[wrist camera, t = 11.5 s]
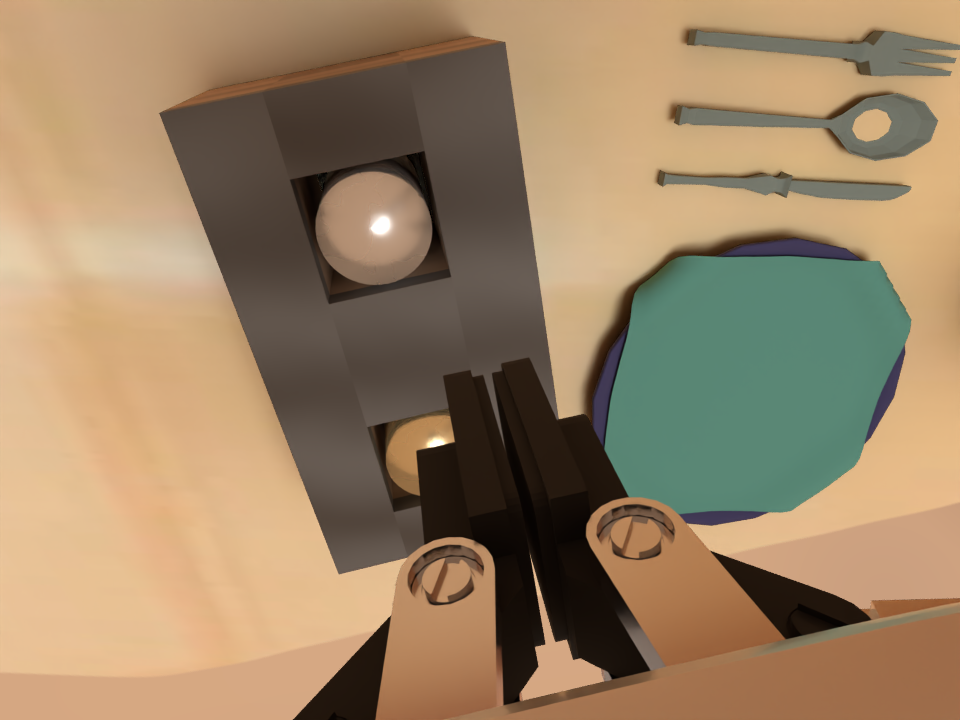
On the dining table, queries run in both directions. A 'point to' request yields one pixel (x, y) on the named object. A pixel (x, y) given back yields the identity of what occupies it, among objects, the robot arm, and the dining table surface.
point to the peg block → (356, 306)
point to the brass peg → (414, 444)
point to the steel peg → (374, 221)
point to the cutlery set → (765, 329)
